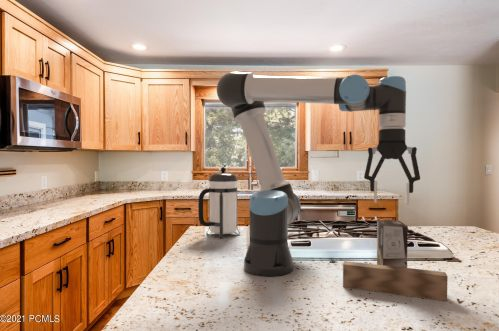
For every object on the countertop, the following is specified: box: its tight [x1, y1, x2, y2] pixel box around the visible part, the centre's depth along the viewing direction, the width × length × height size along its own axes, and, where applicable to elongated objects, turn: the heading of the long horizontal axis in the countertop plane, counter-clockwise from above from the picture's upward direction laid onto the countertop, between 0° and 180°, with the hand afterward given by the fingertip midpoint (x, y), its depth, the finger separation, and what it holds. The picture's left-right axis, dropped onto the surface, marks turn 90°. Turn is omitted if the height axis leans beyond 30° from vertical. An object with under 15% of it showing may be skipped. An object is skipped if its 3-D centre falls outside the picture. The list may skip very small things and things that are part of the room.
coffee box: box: [376, 219, 409, 268], centre depth 93 cm, size 9×6×16 cm
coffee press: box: [197, 166, 241, 239], centre depth 147 cm, size 17×16×30 cm
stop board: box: [342, 260, 449, 302], centre depth 85 cm, size 24×3×6 cm, turn 68°
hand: (391, 202), depth 103 cm, fingers open, 8 cm apart
